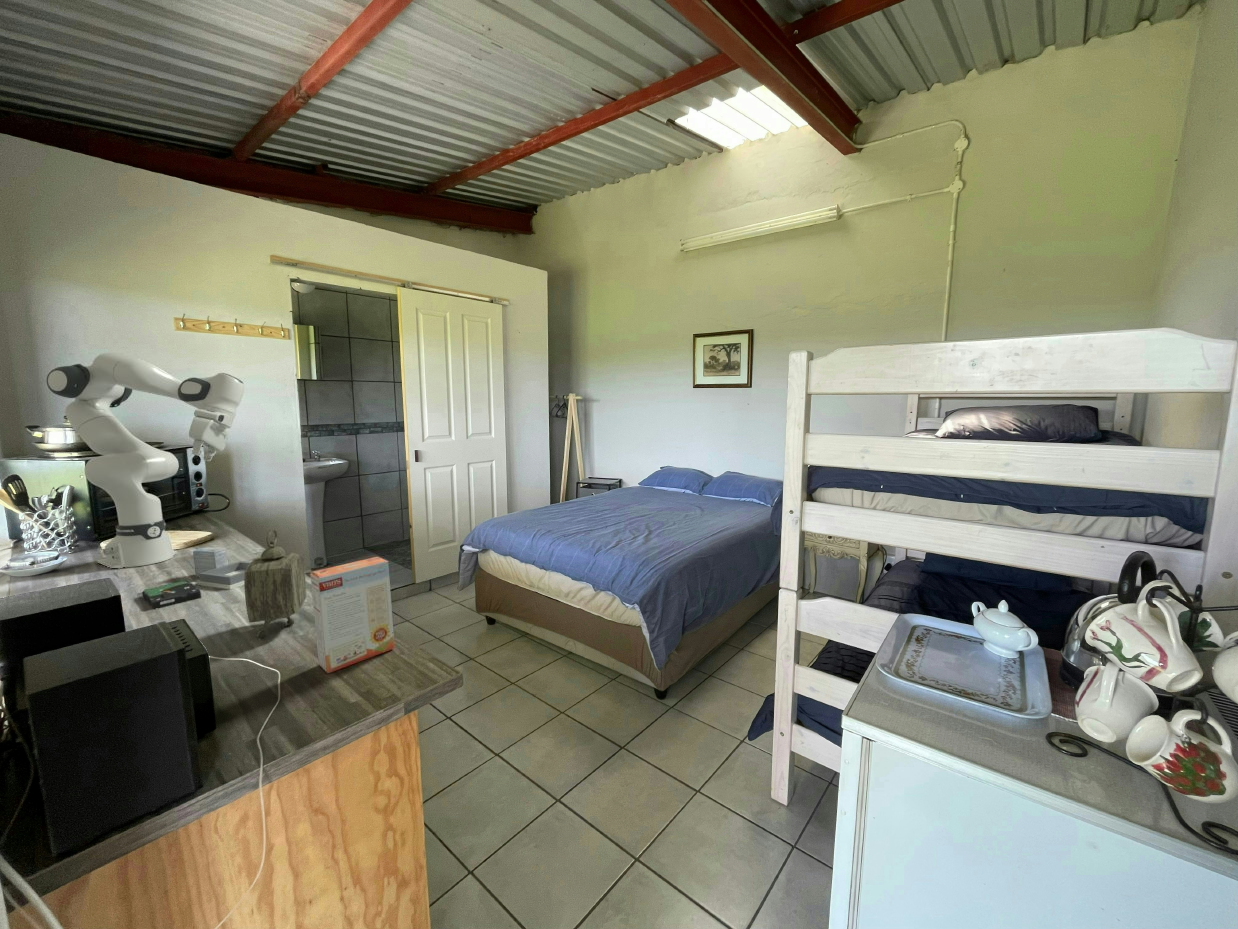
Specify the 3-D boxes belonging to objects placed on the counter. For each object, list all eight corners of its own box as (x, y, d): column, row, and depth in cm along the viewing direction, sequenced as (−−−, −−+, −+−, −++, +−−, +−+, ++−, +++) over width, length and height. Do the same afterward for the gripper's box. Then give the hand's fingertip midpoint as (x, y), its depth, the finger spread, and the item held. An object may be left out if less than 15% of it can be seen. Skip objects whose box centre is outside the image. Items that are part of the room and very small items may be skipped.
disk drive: (202, 599, 140) (188, 587, 148) (201, 590, 139) (187, 579, 148) (154, 612, 131) (141, 598, 140) (152, 602, 131) (140, 589, 140)
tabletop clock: (269, 617, 126) (260, 524, 123) (309, 612, 130) (302, 521, 127) (249, 642, 113) (239, 538, 110) (294, 636, 116) (286, 534, 113)
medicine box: (229, 573, 160) (227, 547, 159) (217, 577, 156) (214, 551, 155) (207, 572, 161) (205, 546, 160) (195, 576, 157) (192, 550, 156)
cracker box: (384, 641, 114) (378, 555, 111) (395, 649, 110) (389, 560, 107) (316, 664, 103) (309, 570, 101) (326, 675, 99) (318, 577, 97)
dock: (196, 584, 150) (195, 573, 149) (242, 570, 163) (241, 560, 163) (230, 589, 146) (229, 578, 145) (274, 574, 159) (273, 563, 159)
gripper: (216, 424, 173) (202, 461, 170) (192, 408, 155) (176, 449, 151) (237, 429, 175) (223, 465, 172) (216, 413, 157) (200, 453, 153)
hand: (201, 457), depth 161 cm, fingers open, 8 cm apart
